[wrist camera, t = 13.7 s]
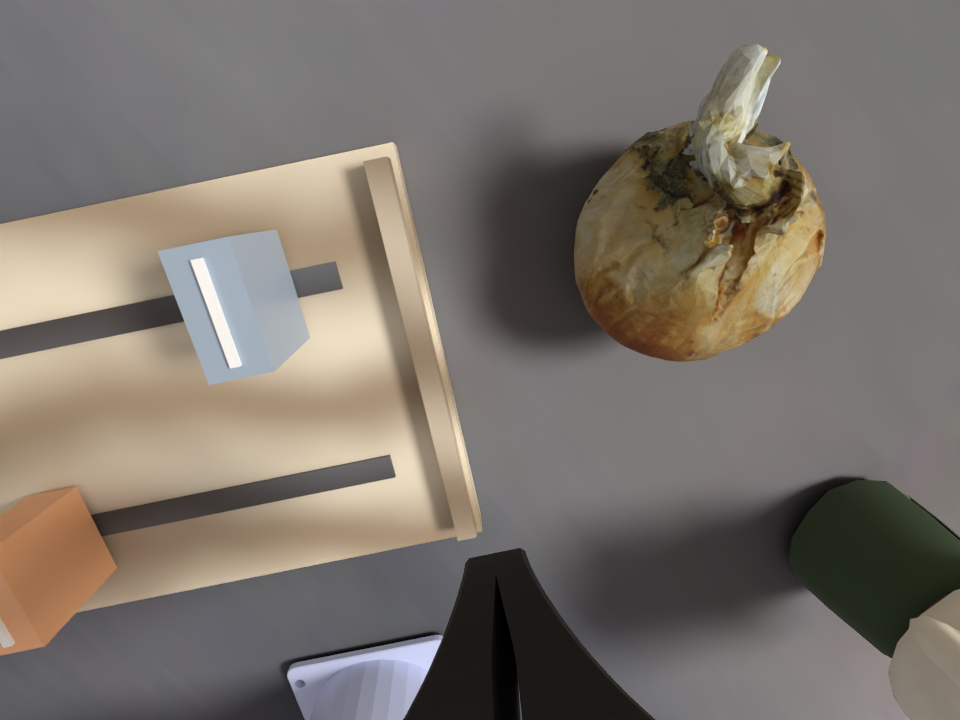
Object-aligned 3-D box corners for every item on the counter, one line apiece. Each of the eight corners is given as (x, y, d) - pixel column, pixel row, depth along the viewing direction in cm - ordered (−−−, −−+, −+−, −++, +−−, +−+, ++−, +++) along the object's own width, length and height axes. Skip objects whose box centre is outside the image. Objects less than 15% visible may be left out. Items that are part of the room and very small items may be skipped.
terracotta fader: (117, 567, 21) (41, 650, 18) (71, 576, 22) (-15, 661, 18) (76, 486, 20) (-15, 555, 16) (27, 496, 20) (-76, 567, 16)
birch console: (481, 515, 23) (483, 546, 21) (16, 608, 24) (-27, 648, 21) (396, 145, 19) (389, 138, 16) (-187, 267, 19) (-267, 275, 17)
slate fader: (310, 337, 19) (272, 373, 15) (258, 348, 19) (206, 387, 15) (276, 229, 18) (225, 237, 14) (220, 240, 18) (154, 251, 14)
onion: (511, 245, 20) (548, 273, 12) (662, 77, 18) (812, -12, 11) (641, 367, 22) (743, 457, 14) (788, 222, 20) (992, 235, 13)
